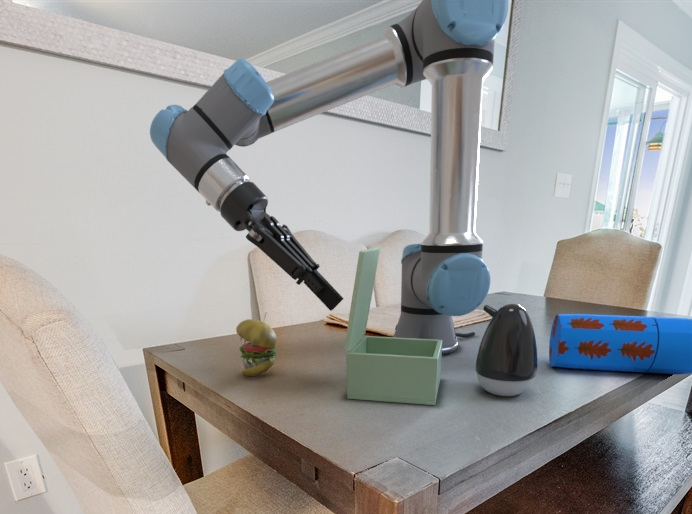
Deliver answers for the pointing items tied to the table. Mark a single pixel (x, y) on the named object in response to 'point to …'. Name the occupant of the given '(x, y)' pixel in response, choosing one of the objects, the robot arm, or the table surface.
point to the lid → (361, 296)
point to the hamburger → (257, 346)
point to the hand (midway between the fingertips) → (337, 304)
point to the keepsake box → (394, 370)
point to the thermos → (621, 343)
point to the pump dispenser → (507, 352)
